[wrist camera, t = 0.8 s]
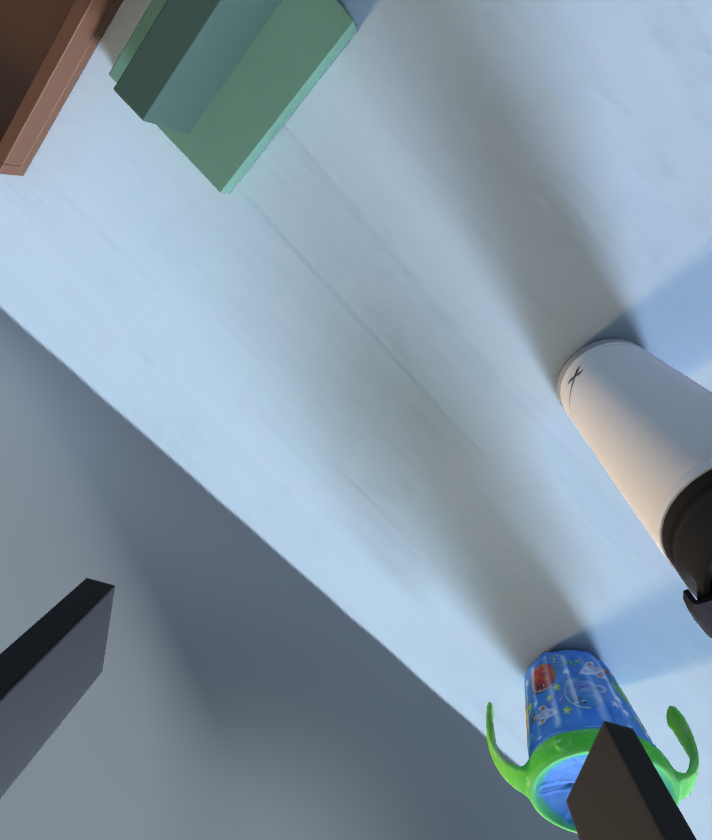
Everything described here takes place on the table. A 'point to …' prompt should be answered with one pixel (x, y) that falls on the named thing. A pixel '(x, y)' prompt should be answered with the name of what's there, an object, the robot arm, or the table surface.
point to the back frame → (42, 67)
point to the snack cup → (578, 731)
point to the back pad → (257, 86)
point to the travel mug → (651, 450)
